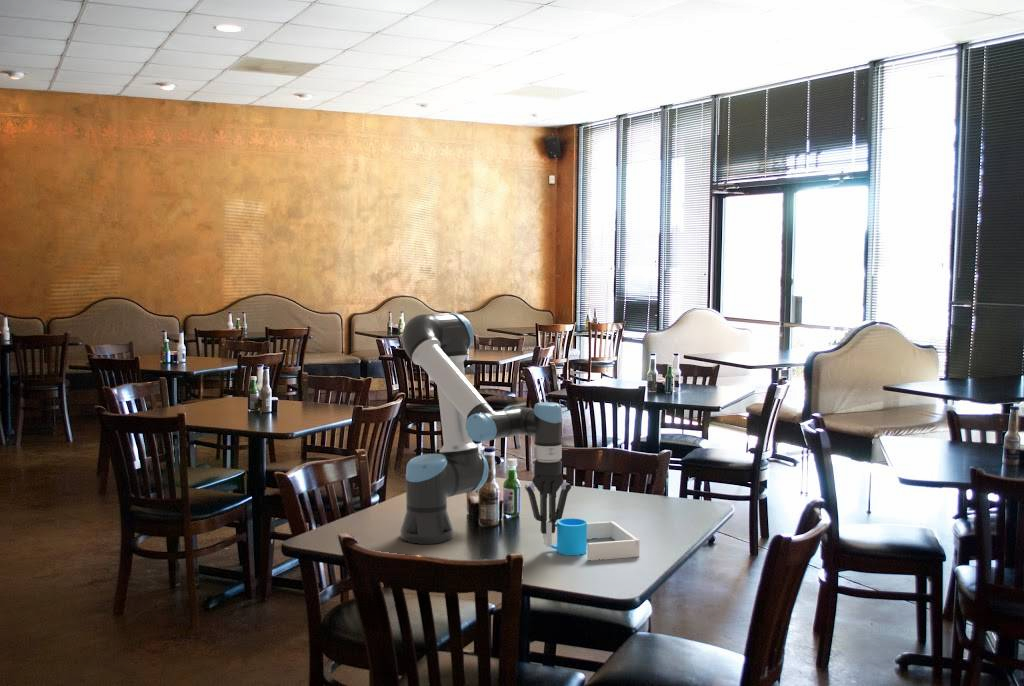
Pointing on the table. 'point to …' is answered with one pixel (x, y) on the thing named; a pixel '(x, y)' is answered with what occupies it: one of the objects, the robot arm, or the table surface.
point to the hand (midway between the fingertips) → (547, 544)
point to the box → (619, 548)
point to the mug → (571, 536)
